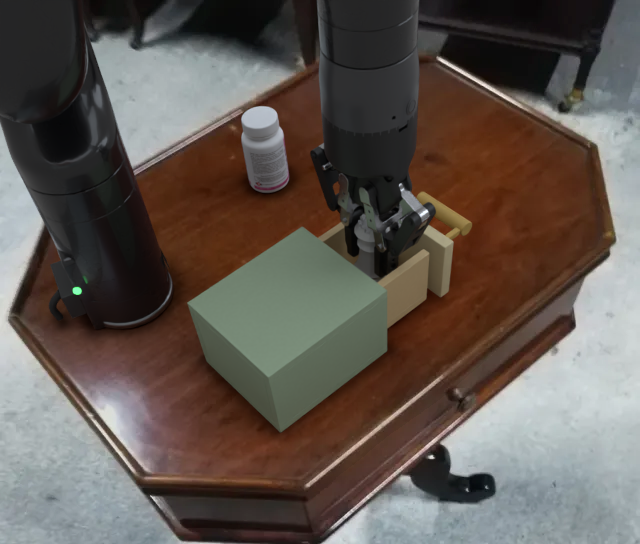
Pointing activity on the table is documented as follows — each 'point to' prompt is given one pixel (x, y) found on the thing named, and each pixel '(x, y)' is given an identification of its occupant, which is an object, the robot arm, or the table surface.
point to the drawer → (414, 261)
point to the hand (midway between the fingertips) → (371, 260)
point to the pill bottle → (264, 149)
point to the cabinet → (291, 326)
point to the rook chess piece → (366, 248)
